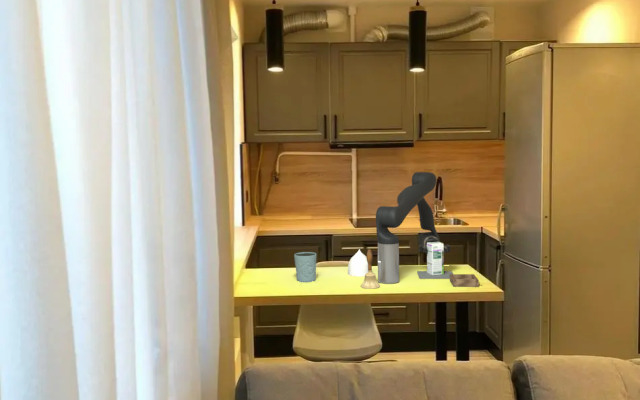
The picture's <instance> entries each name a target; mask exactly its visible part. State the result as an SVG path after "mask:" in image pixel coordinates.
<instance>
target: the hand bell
mask: <svg viewBox="0 0 640 400" xmlns="http://www.w3.org/2000/svg"><path fill="white" fill-rule="evenodd" d="M366 257H367V262H368V273H366V274H365V276H364V279H363V282H362V284H361V285H360V287H361V288H363V289H365V290H374V289H379V288H380V287H381V285H380V284H379V283H378V279H377V276H376V273H374V272H373V269H372V268H373V265H372V264H373V260H374V259H373V258H374V257H373V253H372V249H367V252H366Z"/></svg>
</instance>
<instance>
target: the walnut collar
mask: <svg viewBox="0 0 640 400" xmlns="http://www.w3.org/2000/svg"><path fill="white" fill-rule="evenodd" d="M449 282H450V284H451V285H452V287H453V288H455V287H456V288H479V282H480V280H479V278H478V277H477V276H476V275H475V274H474V273H472V274H471V273H453V274H450V279H449Z"/></svg>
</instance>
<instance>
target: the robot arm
mask: <svg viewBox="0 0 640 400" xmlns="http://www.w3.org/2000/svg"><path fill="white" fill-rule="evenodd" d="M436 184H437V176H436V174H434V173H433V172H429V171H428V172H427V171H426V172H425V171H416V172H414V173H413V174H412V177H411V185H409V186H406V187H405V188H403V189H402V191H400V193H399V194H398V196H397V197H396V203H397V206H396V205H395V206H385V205H381V206H379V207H378V208H377V209H376V212H375V227H376V228H375V229H376V238H377V282H378V284H379V283H380V284H397V283H399V282H400V251H399V250H400V243H399V242H400V241H399V240H400V239H399V236H398V235H396V234H394V233H392V232H391V231H390V230H389V229H393V228H399V227H400V226H401V225H402V223H403V222H404V220H405V219H406V218H407V216H408V215H409V214H410V213H411V211H412V210H413V209H414V207H416V206H417V209H418V217H419V218H418V219H419V226H420V228H421V229H422V230H425V231H427V232H421V233H420V234H418V237H417V240H418V241H417V242H418V243H419V246H418V252H419V253H422V252H423V253H425V254H427V243H430V242H441V241H440V237H439V234H438V232H437V229H436V226H435V219H434V218H435V217H434V212H433V210H432V207H431V206H430V205H429V203H428V202H427V201H426V199H425V196H426V195H428V194H429V193H430V192H433V190H434V189H435V187H436ZM428 231H429V232H428ZM447 253H451V245H449V244H448V243H447V244H445V245H444V254H447Z"/></svg>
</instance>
